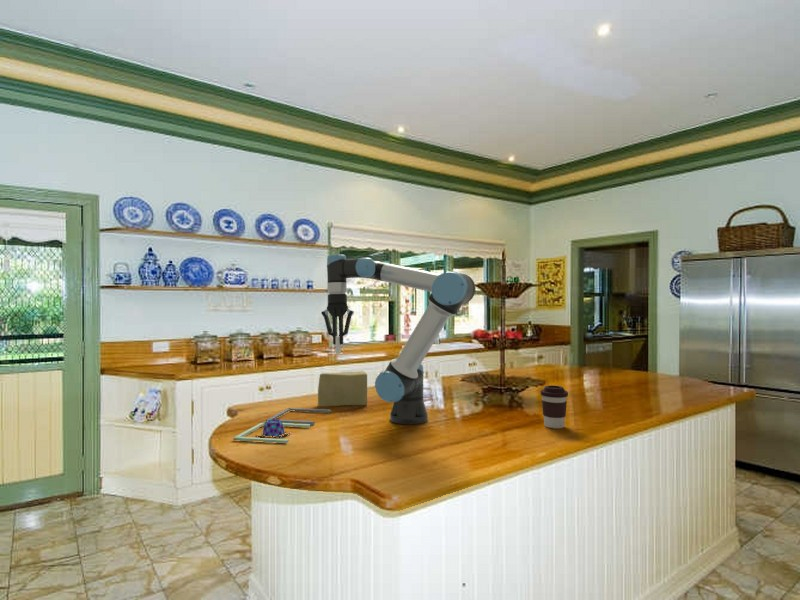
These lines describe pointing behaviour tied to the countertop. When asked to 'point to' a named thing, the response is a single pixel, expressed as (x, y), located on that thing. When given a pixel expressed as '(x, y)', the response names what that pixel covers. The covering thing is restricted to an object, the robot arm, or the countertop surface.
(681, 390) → the countertop surface
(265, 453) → the countertop surface
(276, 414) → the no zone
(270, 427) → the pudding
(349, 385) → the olive beige rectangular block
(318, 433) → the countertop surface
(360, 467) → the countertop surface
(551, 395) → the coffee cup
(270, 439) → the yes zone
